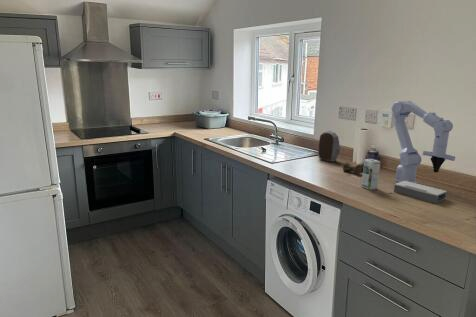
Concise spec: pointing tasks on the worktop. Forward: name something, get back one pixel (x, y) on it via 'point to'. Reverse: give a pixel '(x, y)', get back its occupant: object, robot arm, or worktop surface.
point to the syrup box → (370, 174)
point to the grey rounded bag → (328, 146)
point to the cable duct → (419, 194)
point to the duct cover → (421, 188)
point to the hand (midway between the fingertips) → (435, 171)
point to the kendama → (353, 168)
